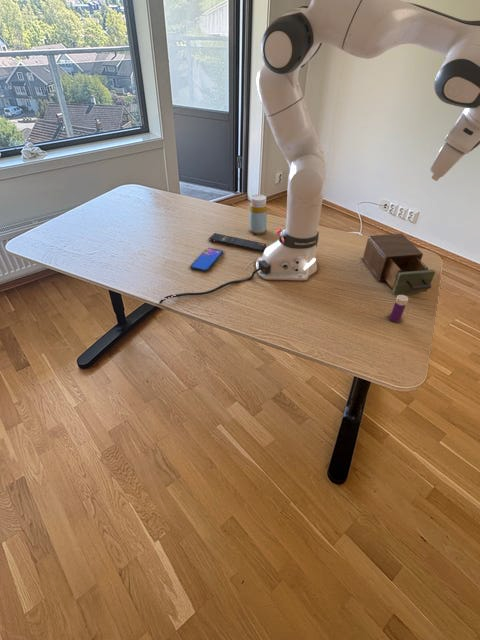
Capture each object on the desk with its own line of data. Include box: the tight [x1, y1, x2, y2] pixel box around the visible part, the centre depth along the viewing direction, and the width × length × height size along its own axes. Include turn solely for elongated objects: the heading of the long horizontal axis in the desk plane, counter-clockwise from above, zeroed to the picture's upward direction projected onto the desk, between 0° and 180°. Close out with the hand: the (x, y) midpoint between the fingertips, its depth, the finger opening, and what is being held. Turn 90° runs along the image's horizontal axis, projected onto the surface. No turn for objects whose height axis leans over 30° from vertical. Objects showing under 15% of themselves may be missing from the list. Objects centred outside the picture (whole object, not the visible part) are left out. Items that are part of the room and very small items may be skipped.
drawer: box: [383, 257, 436, 296], centre depth 114 cm, size 18×12×8 cm, turn 7°
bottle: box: [249, 194, 268, 236], centre depth 145 cm, size 7×7×15 cm
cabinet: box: [362, 233, 424, 282], centre depth 123 cm, size 15×13×10 cm
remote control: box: [208, 232, 267, 252], centre depth 141 cm, size 5×24×1 cm, turn 65°
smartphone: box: [190, 247, 224, 272], centre depth 132 cm, size 7×1×15 cm
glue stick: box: [389, 294, 409, 323], centre depth 102 cm, size 3×3×8 cm
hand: (445, 168), depth 93 cm, fingers open, 8 cm apart
